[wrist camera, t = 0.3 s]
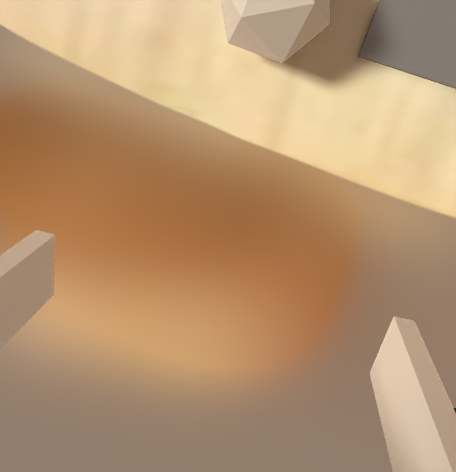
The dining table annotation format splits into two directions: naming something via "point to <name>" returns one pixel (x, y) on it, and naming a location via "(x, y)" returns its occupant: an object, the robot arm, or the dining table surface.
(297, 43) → the die
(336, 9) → the dining table surface
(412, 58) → the pad
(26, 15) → the dining table surface
